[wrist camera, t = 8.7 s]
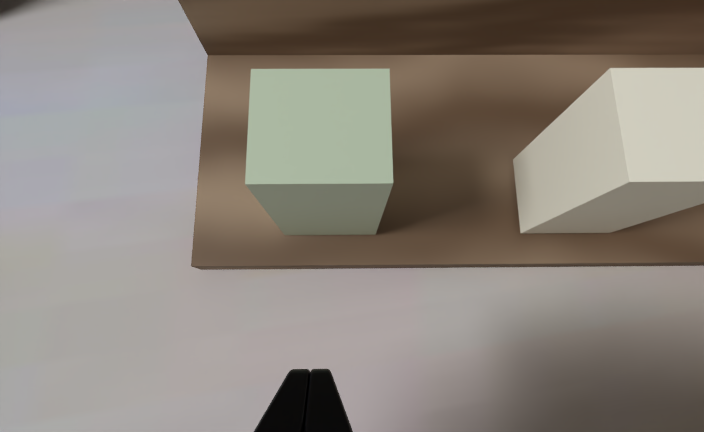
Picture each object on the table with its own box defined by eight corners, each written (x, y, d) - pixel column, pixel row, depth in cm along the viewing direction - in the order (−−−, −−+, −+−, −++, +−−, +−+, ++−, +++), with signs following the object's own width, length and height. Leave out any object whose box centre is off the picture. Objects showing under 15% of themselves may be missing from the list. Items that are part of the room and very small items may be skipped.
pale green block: (375, 234, 21) (393, 183, 13) (284, 235, 21) (245, 184, 13) (373, 160, 22) (389, 68, 14) (286, 160, 22) (250, 68, 14)
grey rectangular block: (610, 232, 22) (774, 181, 13) (520, 233, 21) (628, 181, 13) (598, 159, 22) (745, 67, 14) (513, 159, 22) (609, 67, 14)
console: (895, 263, 23) (1617, 195, 10) (201, 269, 23) (-1, 206, 10) (822, 26, 27) (1288, -256, 13) (218, 26, 26) (88, -266, 13)
